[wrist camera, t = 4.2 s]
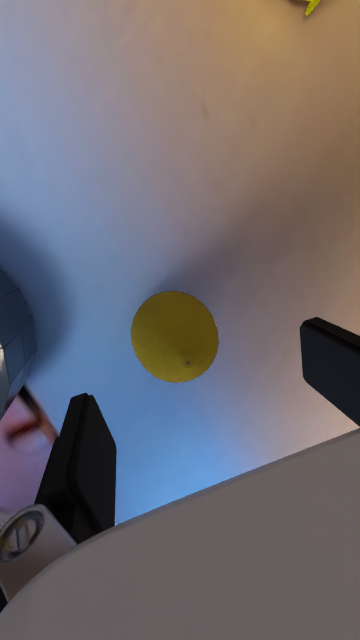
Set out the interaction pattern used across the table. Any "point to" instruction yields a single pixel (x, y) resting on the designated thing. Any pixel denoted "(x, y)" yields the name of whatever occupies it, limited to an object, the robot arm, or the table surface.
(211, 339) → the lemon
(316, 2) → the yellow toy chassis
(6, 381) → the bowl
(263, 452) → the table surface
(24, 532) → the robot arm
